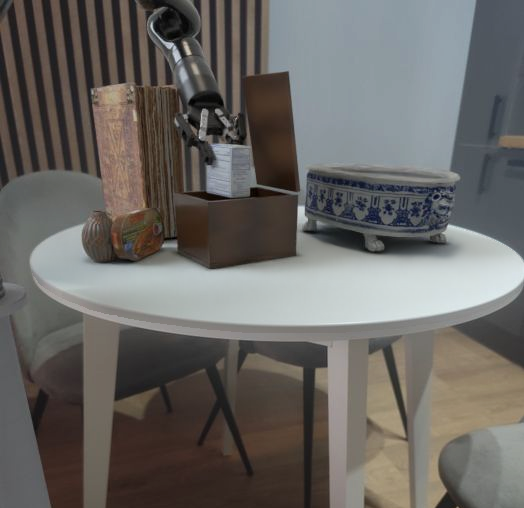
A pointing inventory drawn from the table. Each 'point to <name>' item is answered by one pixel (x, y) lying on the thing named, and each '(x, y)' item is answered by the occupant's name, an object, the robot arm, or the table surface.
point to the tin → (138, 234)
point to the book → (139, 149)
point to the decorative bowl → (380, 200)
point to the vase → (98, 237)
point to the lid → (272, 130)
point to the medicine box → (229, 171)
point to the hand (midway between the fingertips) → (225, 161)
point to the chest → (236, 226)
